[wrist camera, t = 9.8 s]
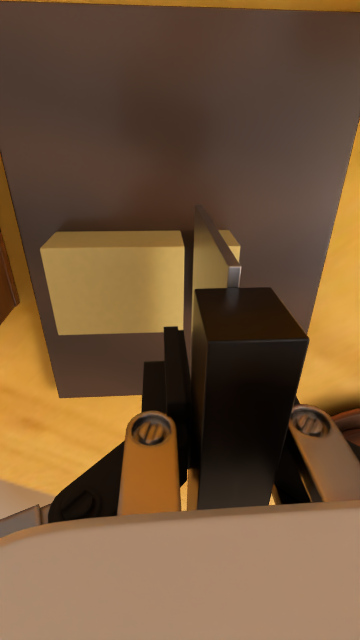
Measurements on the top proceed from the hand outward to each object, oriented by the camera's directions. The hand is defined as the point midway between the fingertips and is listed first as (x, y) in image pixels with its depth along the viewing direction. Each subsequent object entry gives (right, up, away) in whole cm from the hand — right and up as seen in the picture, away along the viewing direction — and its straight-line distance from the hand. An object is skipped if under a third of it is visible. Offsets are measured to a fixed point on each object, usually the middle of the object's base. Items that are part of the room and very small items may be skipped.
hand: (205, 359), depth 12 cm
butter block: (-4, +4, +7) cm, 10 cm away
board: (-1, +6, +8) cm, 10 cm away
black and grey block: (0, +2, +3) cm, 4 cm away
